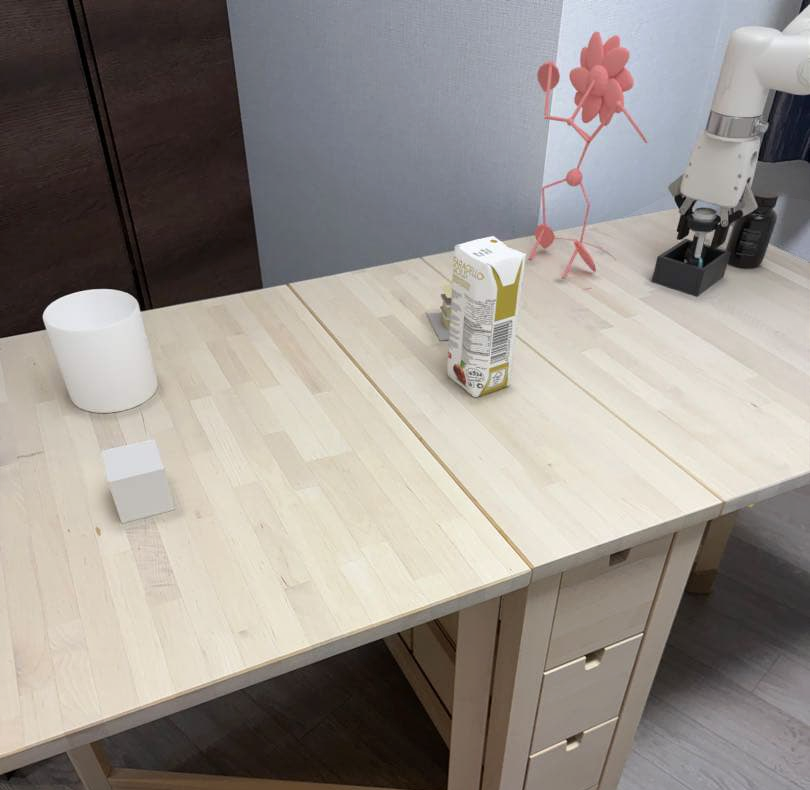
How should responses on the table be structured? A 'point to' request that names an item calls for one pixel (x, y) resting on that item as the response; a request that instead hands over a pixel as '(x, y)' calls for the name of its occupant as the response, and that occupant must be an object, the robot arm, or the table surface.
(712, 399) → the table surface
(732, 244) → the supplement bottle
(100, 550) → the table surface
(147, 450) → the light grey cube
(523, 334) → the table surface
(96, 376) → the cup
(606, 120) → the figurine
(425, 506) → the table surface
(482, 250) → the juice carton
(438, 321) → the stacked layers on plate
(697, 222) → the push button
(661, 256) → the open box
